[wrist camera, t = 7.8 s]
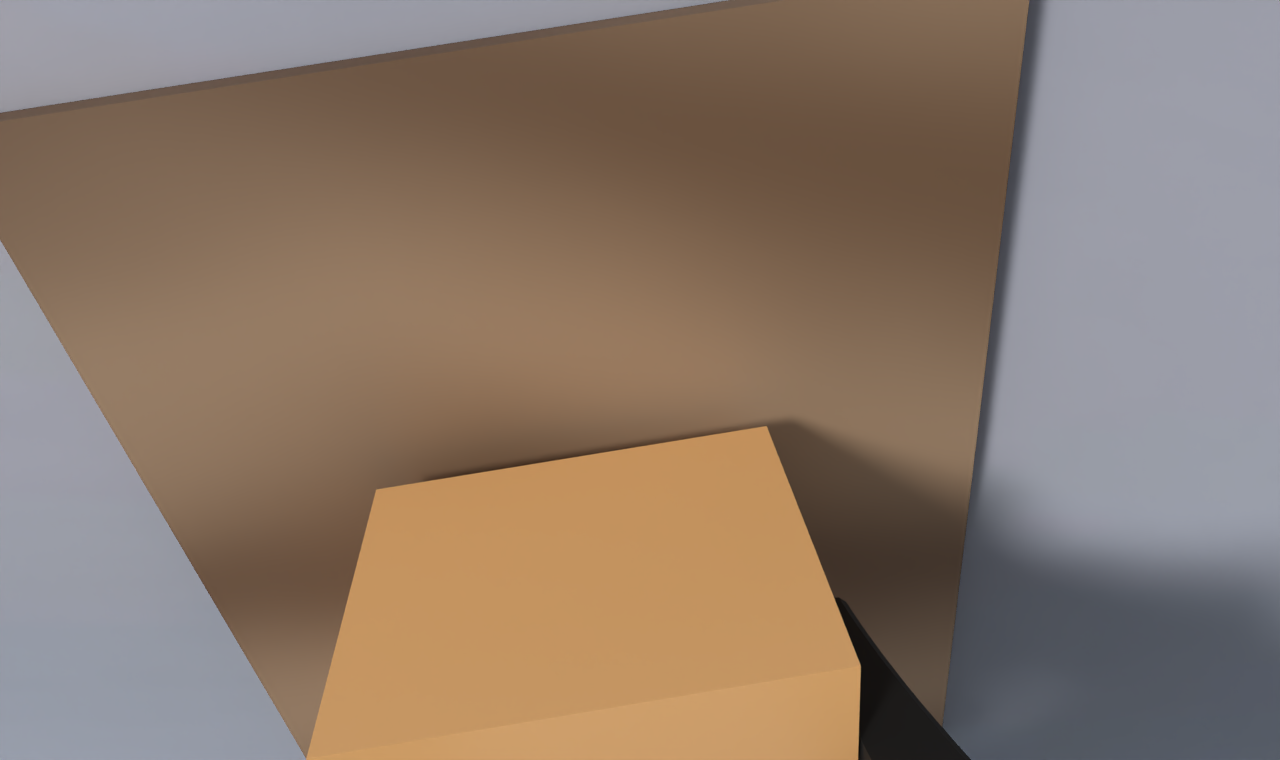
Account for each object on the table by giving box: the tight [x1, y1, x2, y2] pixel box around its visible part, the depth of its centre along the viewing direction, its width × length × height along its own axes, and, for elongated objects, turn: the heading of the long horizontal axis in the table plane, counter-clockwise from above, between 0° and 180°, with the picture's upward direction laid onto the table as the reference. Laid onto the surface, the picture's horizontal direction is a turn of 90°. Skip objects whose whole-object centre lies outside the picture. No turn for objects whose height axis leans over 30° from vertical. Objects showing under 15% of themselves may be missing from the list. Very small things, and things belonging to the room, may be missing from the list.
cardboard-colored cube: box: [306, 426, 861, 760], centre depth 11 cm, size 5×5×4 cm
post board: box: [0, 0, 1029, 758], centre depth 12 cm, size 16×12×3 cm
